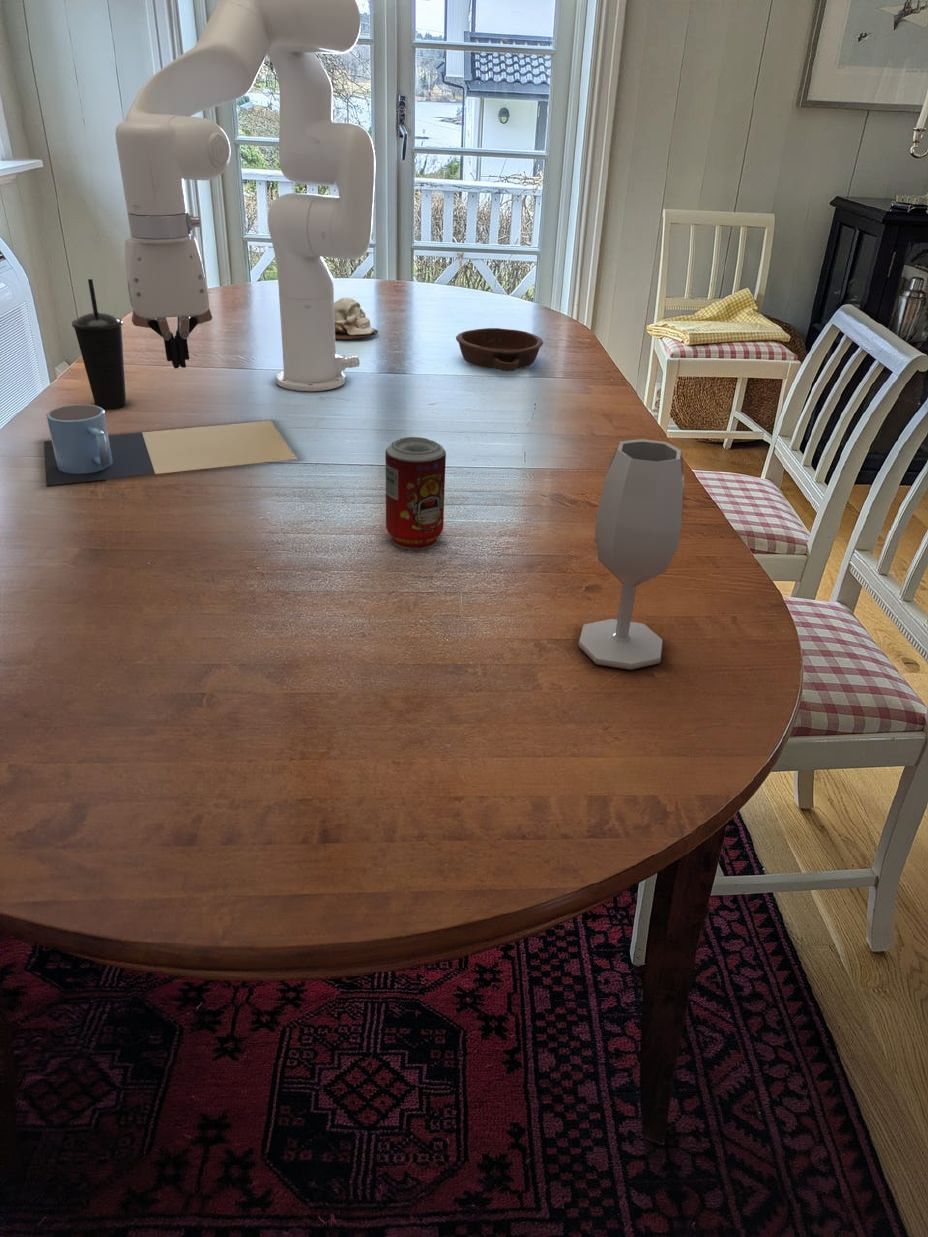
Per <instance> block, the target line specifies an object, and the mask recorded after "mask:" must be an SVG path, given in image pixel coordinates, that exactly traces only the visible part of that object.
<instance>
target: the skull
mask: <svg viewBox="0 0 928 1237" xmlns="http://www.w3.org/2000/svg"><path fill="white" fill-rule="evenodd" d="M334 317H335V339H341V340H342V339H343V340H344V339H346V340H348V339H361V338H366V337H367V338H368V337H372V336H376V335H378V333H379V330H378V329H377V328H373V327H372V325H371V320H370V319H369V318H368V317H367V316H366V312H365V311H363V309H362V308H361V304H360V303H359V302H358V301H357V300H356V299H355V298H352V297H341V298H339V299H338V300H336V301H334Z"/></svg>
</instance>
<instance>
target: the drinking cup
mask: <svg viewBox="0 0 928 1237" xmlns="http://www.w3.org/2000/svg"><path fill="white" fill-rule="evenodd" d="M87 282H88V290H89V295H90V301H91V306H92V312H90V313H87V314H83V315H81V316H80V317H78V318H76V319H74V320H72V321H71V326H72V328H74V331H75V335H76V339H77V343H78V346H79V350H80V354H81V357H82V360H83V365H84V368H85V372H86V376H87V379H88V380H87V381H88V383H89V387H90V391H91V394H92V397H93V398H92V399H93V401H94V406H98V407H101V408H103V409H104V410H106V411H107V410H117V409H122V408H124V407H126V405H127V398H126V381H125V380H126V379H125V378H126V377H125V363H124V362H125V361H124V360H125V359H124V347H123V346H124V344H123V330H122V326H123V324H124V322H123V320H122V318H120V317H116V316H114V315H112V314H109V313H105V312H99V310H98V303H97V298H96V291H95V286H94V279H92V278H89V279H87Z"/></svg>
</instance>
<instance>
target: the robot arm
mask: <svg viewBox="0 0 928 1237" xmlns="http://www.w3.org/2000/svg"><path fill="white" fill-rule="evenodd" d="M360 33H361V13H360V10H359V6H358V4H357V1H356V0H218V1H217V3H216V5H215V6H214V8H213V11H212V12H211V15H210V17H209V19H208V21H207V23H206V24H205V27H204V28H203V30H202V33H201V34H200V36H199V39H198V40H197V43H196V44H195V45H194V46H193V47H192V48H190V49H189V50H187V51H185V52H184V53H182V54H180V55H179V56H178V57H176V58H175V59H174V60H172V61H171V62H170V63H169V62H168V64H167V65H165V66H164V67H162V68H161V69H159V70H158V71H157V72H155V73H154V74H153V75H152V76H151V77H150V78H148V80H147V81H145V83H144V84H143V85H142V86H141V88H140V90H139V91H138V93H137V94H136V96H135V98H134V100H133V102H132V104H131V105H130V108H128V111H127V114H126V116H125V119H124V121H122V122H119V123H118V125H116V128H115V133H114V134H115V143H116V148H117V150H116V151H117V156H118V162H119V168H120V174H121V181H122V187H123V194H124V199H125V205H126V206H125V207H126V212H127V219H128V220H127V221H128V226H129V232H130V236H128V237H125V240H124V259H125V260H124V261H125V271H126V272H125V273H126V281H127V290H128V296H129V301H130V306H131V308H132V312H131V322H132V324H133V326H135V327H141V328H146V329H148V328H149V329H151V330H153V331H154V332H155V333H156V334H157V335H159V336H160V337H161V338H162V339H163V344H164V350H165V357H166V361H167V362H171V364H172V366H173V368H174V369H179V368H182V369H185V368H187V364H186V361H188V360H190V353H189V345H188V338H189V337H190V334H191V333H192V332H193V330H194V329H195V328H196V327H197V326H198V325H202V324H204V323H207V322H210V321H212V320H213V315H212V312H211V310H210V301H209V300H210V299H209V292H208V286H207V281H206V275H205V270H204V265H203V261H202V257H201V251H200V249H199V245H198V242H197V239H196V236H195V235H192V232H191V231H193V229H195V228H201V220H200V217H199V216H193V215H191V214H190V213H189V212H188V208H187V207H188V206H187V200H186V192H185V183H184V182H185V180H188V181H189V180H190V181H191V180H192V181H211V180H214V179H216V178H218V177H219V176H221V175H222V174H223V173H225V171H226V170H227V168H228V166H229V163H230V161H231V154H232V153H231V152H232V151H231V145H230V140H229V137H228V136H227V134H226V132H225V131H224V130H223V128H222V127H221V126H220V125H219V124H217V123H216V122H215V121H213V120H211V119H208V118H205V117H200V116H194V115H196V114H199V113H201V112H204V111H207V110H210V109H214V108H217V107H220V106H223V105H227V104H229V103H232V102H234V101H236V100H238V99H240V98H242V97H245V95H247V94H248V93H249V92H250V90H251V89H252V87H253V86H254V84H255V81H256V79H257V77H258V76H259V72H260V71H261V68H262V66H263V65H264V62H265V60H266V57H267V56H268V58H269V60H270V62H271V64H272V67H273V69H274V72H275V75H276V78H277V82H278V88H279V120H278V121H279V122H278V123H279V127H278V128H279V130H278V131H279V132H278V158H279V168H280V170H281V173H282V175H283V176H284V177H285V178H286V179H287V180H288V181H290V182H292V183H296V184H300V185H306V186H317V187H328V188H330V187H331V188H337V191H338V196H336V195H324V194H317V193H316V194H315V193H302V192H291V193H285V194H282V195H279V196H278V197H277V198H276V199H274V200H273V201H272V202H271V204H270V207H269V209H268V214H267V225H268V231H269V232H268V233H269V236H270V240H271V244H272V247H273V253H274V259H275V264H276V271H277V273H276V274H277V286H278V300H279V314H280V315H279V317H280V331H281V349H282V362H283V363H282V364H283V370H281V371H279V372H278V373H276V375H275V383H276V384H277V385H278V386H279V387H281V388H283V389H287V390H292V391H298V392H322V391H329V390H334V389H336V388H340V387H342V386H343V385H344V384H345V383H346V375H345V374H344V372H343V371H345V370H346V369H347V368H349V369H353V368H357V367H359V366H360V358H359V356H357V355H355V356H349V357H346V356H345V355H338V354H337V349H336V338H335V317H334V303H335V291H334V290H335V288H334V280H333V277H332V274H331V272H330V270H329V268H328V266H327V263H326V262H325V261H324V259H323V258H332V259H341V260H359V259H360V258H363V257H364V255H365V254H367V251H368V250H369V248H370V244H371V239H372V234H373V233H372V232H373V220H374V218H373V217H374V216H373V215H374V202H375V201H374V200H375V182H376V181H375V179H376V154H375V148H374V144H373V140H372V137H371V135H370V133H369V132H368V131H367V130H366V129H365V128H364V127H363V126H362V125H359V124H357V123H353V122H341V121H334V117H333V112H334V111H333V109H334V107H333V106H334V100H333V99H334V90H333V84H332V81H331V79H330V77H329V75H328V73H327V71H326V69H325V67H324V65H323V64H322V62H321V61H320V59H319V58H318V57H317V55H316V54H331V55H341V54H343V55H344V54H347V53H349V52H350V51H351V50H352V49H353V48H355V46H356V44H357V42H358V40H359V37H360ZM167 318H177V321H176V322H177V323H176V324H177V328H176V331H175V335H174V334H173V332H172V331H171V328H170V326H169V322H168V319H167Z"/></svg>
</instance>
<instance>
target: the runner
mask: <svg viewBox="0 0 928 1237" xmlns="http://www.w3.org/2000/svg"><path fill="white" fill-rule="evenodd" d="M108 436H109V441H110V447H111V453H112V459H113V463H112V465H111V466H110V467H108V468H106V469H104V470H101V471H98V472H93V473H86V474H71V473H65V472H62V471H60V470H59V469H58V468H57V465H56V460H55V455H54V450H53V445H52V440H44V441H43V447H44V448H43V450H44V467H45V468H44V470H45V486H46V488H47V487H48V488H49V487H56V486H58V487H59V486H68V485H77V484H84V483H85V484H86V483H94V482H104V481H105V482H106V481H107V480H114V479H123V478H132V477H133V478H134V477H141V476H142V477H143V476H152V475H159V474H170V473H171V474H172V473H180V472H188V471H198V470H207V469H217V468H226V467H235V466H236V467H237V466H245V465H255V464H263V463H272V462H273V463H274V462H282V461H283V462H284V461H292V460H293V461H294V460H298V458H297V457H296V455H295V453H293V451H292V449H291V448H290V447H289V445H288V443H287V441H285V439H284V438H283V436H282V435H281V433H280V431H279V430H278V429H277V428H276V426H275V425H274V423H273V422H272V421H271V420H262V421H261V420H260V421H252V422H241V423H230V424H219V425H207V426H198V427H197V426H195V427H186V428H184V427H183V428H173V429H163V430H152V431H142V432H131V433H120V434H108Z"/></svg>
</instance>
